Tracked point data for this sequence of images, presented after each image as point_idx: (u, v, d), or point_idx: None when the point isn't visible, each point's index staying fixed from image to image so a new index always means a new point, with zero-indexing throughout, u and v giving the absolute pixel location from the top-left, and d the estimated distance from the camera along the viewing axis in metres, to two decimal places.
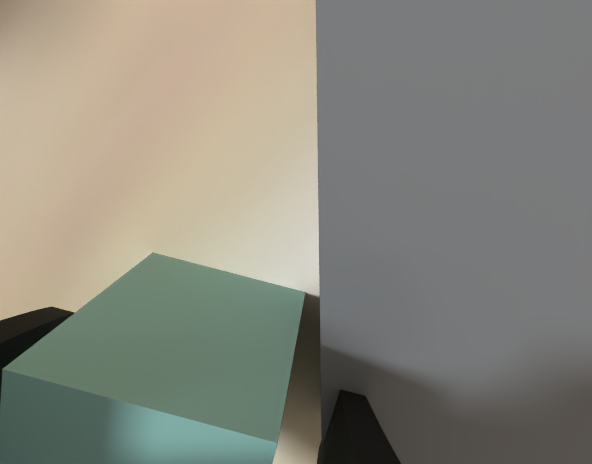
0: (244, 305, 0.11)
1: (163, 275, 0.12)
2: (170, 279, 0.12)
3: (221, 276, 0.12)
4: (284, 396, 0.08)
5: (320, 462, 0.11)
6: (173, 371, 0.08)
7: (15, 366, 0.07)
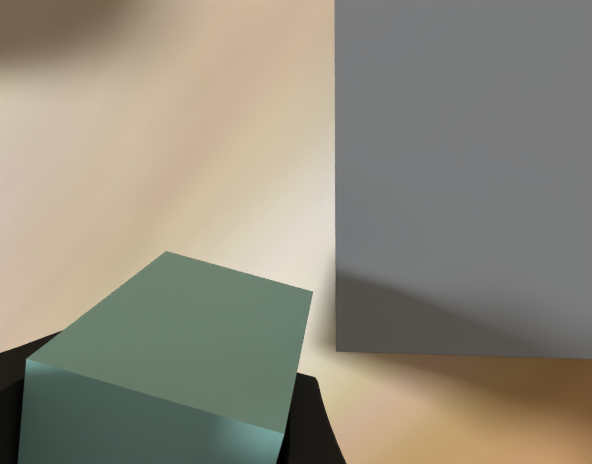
0: (253, 303, 0.11)
1: (175, 273, 0.12)
2: (182, 277, 0.12)
3: (231, 275, 0.13)
4: (291, 390, 0.08)
5: None
6: (186, 364, 0.08)
7: (38, 356, 0.08)
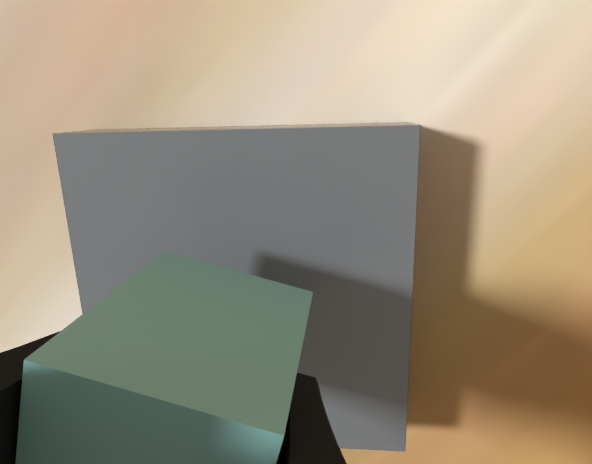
0: (253, 303, 0.11)
1: (174, 273, 0.12)
2: (182, 277, 0.12)
3: (231, 275, 0.13)
4: (291, 391, 0.08)
5: None
6: (185, 365, 0.08)
7: (36, 357, 0.08)
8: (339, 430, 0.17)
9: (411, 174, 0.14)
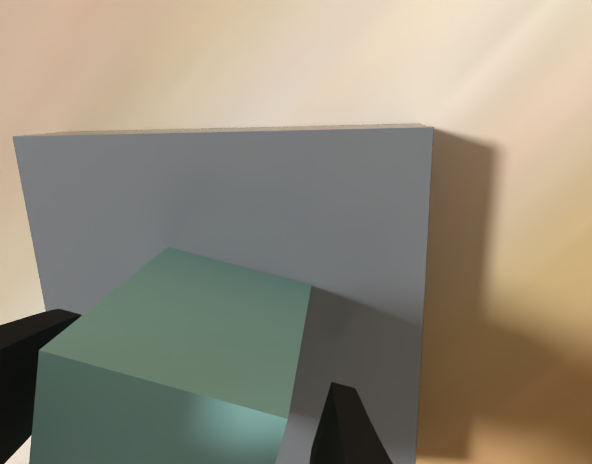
0: (254, 297, 0.12)
1: (177, 268, 0.12)
2: (184, 272, 0.12)
3: (232, 269, 0.13)
4: (293, 379, 0.09)
5: (312, 460, 0.11)
6: (192, 354, 0.09)
7: (50, 348, 0.08)
8: None
9: (423, 184, 0.12)
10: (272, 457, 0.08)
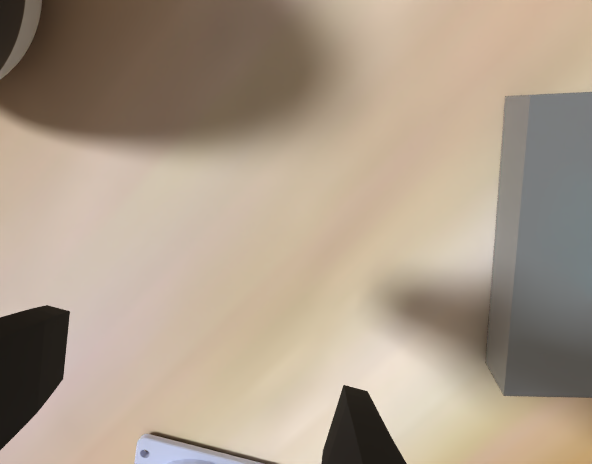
0: None
1: None
2: None
3: None
4: None
5: (325, 463, 0.11)
6: None
7: None
8: None
9: None
10: None
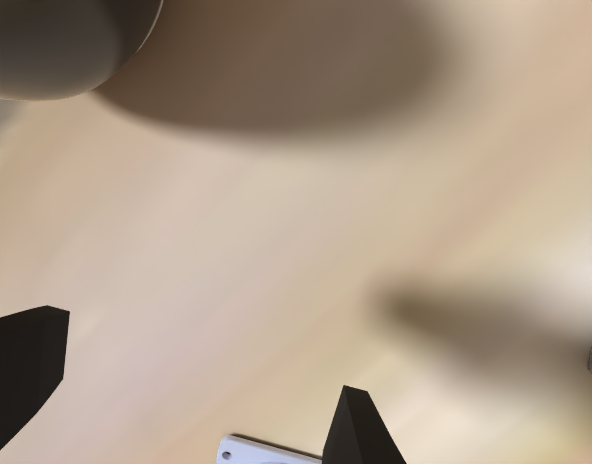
0: None
1: None
2: None
3: None
4: None
5: (325, 463, 0.11)
6: None
7: None
8: None
9: None
10: None
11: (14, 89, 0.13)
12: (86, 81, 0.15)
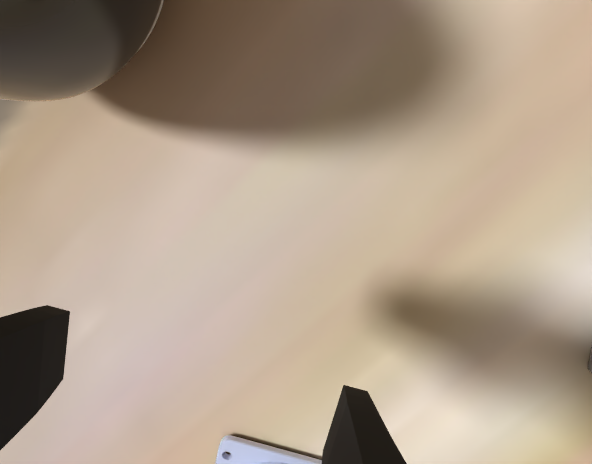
0: None
1: None
2: None
3: None
4: None
5: (325, 463, 0.11)
6: None
7: None
8: None
9: None
10: None
11: (14, 89, 0.13)
12: (86, 81, 0.15)
